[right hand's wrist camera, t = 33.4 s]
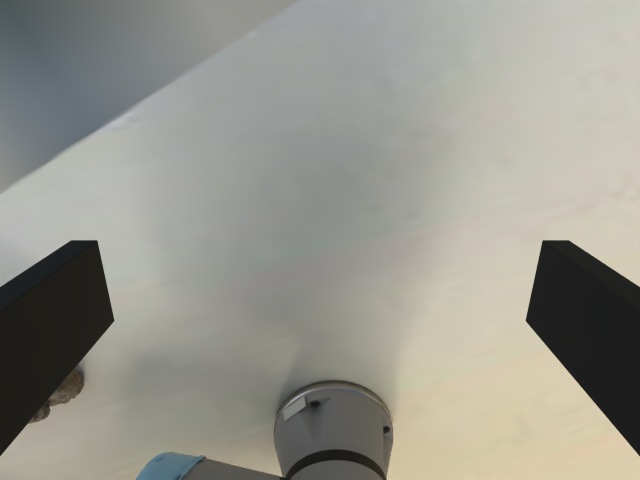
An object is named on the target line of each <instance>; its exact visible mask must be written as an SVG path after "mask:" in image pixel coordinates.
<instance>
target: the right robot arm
mask: <svg viewBox="0 0 640 480" xmlns="http://www.w3.org/2000/svg"><path fill="white" fill-rule="evenodd" d="M113 322H114V317H113V312H112V308H111V303H110V298H109V293H108V289H107V284H106V279H105V275H104V270H103V265H102V260H101V256H100V251H99V246H98V242H97V240H71V241H70V242H68V243H67V244H65V245H64V246H62V247H61V248H59V249H58V250H56V251H55V252H53V253H51V254H50V255H48V256H47V257H45V258H44V259H42V260H41V261H39V262H38V263H36V264H35V265H33V266H32V267H30V268H29V269H27V270H26V271H24V272H23V273H21V274H20V275H18V276H16V277H15V278H13V279H12V280H10V281H9V282H7V283H6V284H4V285H3V286H1V287H0V456H1V455H2V453H3V452H4V451H5V450H6V449H7V447H8V446H9V445H10V444H11V443H12V442H13V440H14V439H15V438H16V437H17V436H18V434H19V433H20V432H21V431H22V430H23V429H24V427H25V426H26V425H27V424H28V423H29V421H30V420H31V419H32V418H33V417H34V415H35V414H36V413H37V412H38V411H39V410H40V408H41V407H42V406H43V405H44V404H45V402H46V401H47V400H48V399H49V398H50V397H51V395H52V394H53V393H54V392H55V391H56V389H57V388H58V387H59V386H60V385H61V383H62V382H63V381H64V380H65V379H66V378H67V376H68V375H69V374H70V373H71V372H72V370H73V369H74V368H75V367H76V366H77V364H78V363H79V362H80V361H81V360H82V359H83V357H84V356H85V355H86V354H87V353H88V351H89V350H90V349H91V348H92V347H93V346H94V344H95V343H96V342H97V341H98V340H99V338H100V337H101V336H102V335H103V334H104V332H105V331H106V330H107V329H108V328H109V327H110V325H111V324H112V323H113ZM526 322H527V323H528V324H529V325H530V327H531V328H532V329H533V330H534V331H535V332H536V334H537V335H538V336H539V337H540V338H541V340H542V341H543V342H544V343H545V344H546V346H547V347H548V348H549V349H550V350H551V351H552V353H553V354H554V355H555V356H556V357H557V359H558V360H559V361H560V362H561V363H562V364H563V366H564V367H565V368H566V369H567V370H568V372H569V373H570V374H571V375H572V376H573V378H574V379H575V380H576V381H577V382H578V383H579V385H580V386H581V387H582V388H583V389H584V391H585V392H586V393H587V394H588V395H589V397H590V398H591V399H592V400H593V401H594V402H595V404H596V405H597V406H598V407H599V408H600V410H601V411H602V412H603V413H604V414H605V415H606V417H607V418H608V419H609V420H610V421H611V423H612V424H613V425H614V426H615V427H616V429H617V430H618V431H619V432H620V433H621V434H622V436H623V437H624V438H625V439H626V440H627V442H628V443H629V444H630V445H631V446H632V447H633V449H634V450H635V451H636V452H637V453H638V455H639V456H640V287H639V286H637V285H636V284H634V283H633V282H631V281H630V280H628V279H627V278H625V277H624V276H622V275H620V274H619V273H617V272H616V271H614V270H613V269H611V268H610V267H608V266H607V265H605V264H604V263H602V262H601V261H599V260H598V259H596V258H595V257H593V256H592V255H590V254H589V253H587V252H585V251H584V250H582V249H581V248H579V247H578V246H576V245H575V244H573V243H572V242H570V241H569V240H543V242H542V246H541V251H540V256H539V260H538V265H537V270H536V275H535V279H534V284H533V289H532V293H531V298H530V303H529V308H528V312H527V317H526ZM274 443H275V449H276V452H277V456H278V460H279V464H280V468H281V472H282V475H283V477H279V476H276V475H272V474H268V473H264V472H259V471H255V470H251V469H247V468H242V467H238V466H234V465H230V464H226V463H222V462H218V461H214V460H210V459H206V457H205V456H198V457H196V456H190V455H184V454H178V453H173V452H166V453H162V454H160V455H157V456H156V457H154V458H153V459H152V460H151V461H150V462H149V463H148V464H147V465H146V466H145V467H144V468H143V470H142V471H141V472H140V474H139V475H138V477H137V478H136V480H387V479H386V477H387V472H388V466H389V461H390V456H391V450H392V445H393V428H392V423H391V418H390V414H389V412H388V410H387V408H386V406H385V404H384V403H383V402H382V401H381V400H380V399H379V398H378V397H377V396H376V395H375V394H374V393H372V392H371V391H369V390H367V389H365V388H363V387H361V386H358V385H355V384H351V383H346V382H337V381H330V382H321V383H316V384H312V385H310V386H307V387H304V388H302V389H300V390H299V391H297V392H295V393H294V394H292V395H291V396H290V397H289V398H288V399H287V400H286V401H285V402H284V403H283V404H282V406H281V408H280V409H279V411H278V413H277V416H276V420H275V427H274Z"/></svg>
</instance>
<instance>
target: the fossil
mask: <svg viewBox="0 0 640 480" xmlns="http://www.w3.org/2000/svg"><path fill="white" fill-rule="evenodd" d="M83 386H84V383H83V382H82V375H81V374H80V373H79V372H78V371H77V370H75V369H73V370H72V372H71V373H70V374H69V375H68V376H67V378H66V379H65V380H64V381H63V382H62V383H61V385H60V386H59V387H58V388H57V389H56V391H55V392H54V393H53V394H52V395H51V397H50V398H49V399H48V400H47V401H46V402H45V404H44V405H43V406H42V407H41V408H40V410H39V411H38V412H37V413H36V414H35V415H34V417H33V418H32V419H31V420H30V421H29V423H33V422H38V421H40V420H42V419H45V418H46V417H48V415H49V412H50V408H49V407H50V406H54V405H57V404H59V403H67V402H69V401H70V399H71V398H75V397H76V395H78V394H79V393H80V391H81V390H82V388H83Z"/></svg>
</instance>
